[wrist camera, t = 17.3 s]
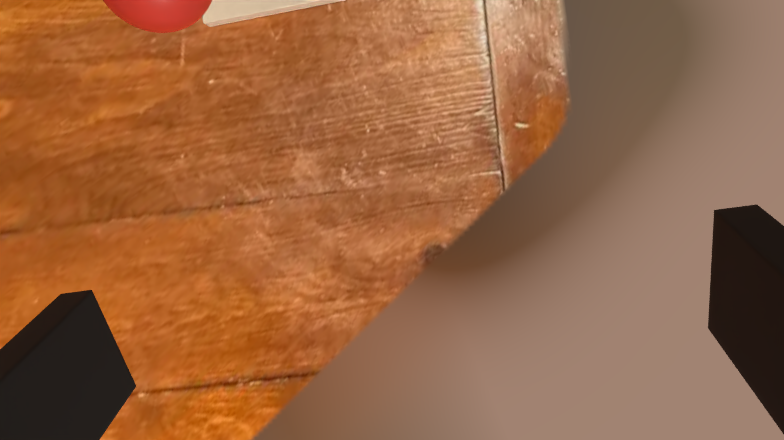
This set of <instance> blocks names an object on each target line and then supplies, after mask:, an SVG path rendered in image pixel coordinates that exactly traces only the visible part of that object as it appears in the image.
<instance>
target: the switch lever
mask: <svg viewBox="0 0 784 440" xmlns="http://www.w3.org/2000/svg"><path fill="white" fill-rule="evenodd" d="M103 1H104V2H105V4H106V5H107V6H108V7H109V8H110V9H111V10H112V11H113V12H114V13H115V14H116V15H117V16H118V17H120V18H121V19H122V20H124V21H125V22H127V23H129V24H131V25H132V26H135V27H137V28H140V29H142V30H146V31H150V32H157V33H167V32H175V31H179V30H182V29H184V28H187V27H189V26H190V25H192V24H194V23H195V22H196V21H198V20H199V19H200V18H201V17H202V16H203V15H204V13H205V12H206V11H207V9H208V8H209V6H210V4H211V2H212V0H103Z"/></svg>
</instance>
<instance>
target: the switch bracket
mask: <svg viewBox="0 0 784 440" xmlns="http://www.w3.org/2000/svg"><path fill="white" fill-rule="evenodd" d="M339 1H344V0H212V2H211V4H210V6H209V8H208V9H207V11H206V12H205V13H204V15H203V16H202V18H203V23H204V24H206V25H208V26H209V27H212V26H217V25H222V24H227V23H232V22H237V21H243V20H248V19H253V18H258V17H263V16H268V15H273V14H278V13H283V12H288V11H294V10H299V9H304V8H309V7H314V6H319V5H324V4H329V3H334V2H339Z"/></svg>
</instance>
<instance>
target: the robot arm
mask: <svg viewBox="0 0 784 440" xmlns="http://www.w3.org/2000/svg"><path fill="white" fill-rule="evenodd" d="M713 225H714V226H713V245H712V263H711V283H710V301H709V302H710V303H709V322H708V328H709V330H710V331H711V333H712V334H713V336H714V337H715V338H716V340H717V341H718V343H719V344H720V345H721V347H722V348H723V350H724V351H725V352H726V354H727V355H728V357H729V358H730V359H731V360H732V362H733V364H734V365H735V367H736V368H737V369H738V371H739V372H740V374H741V375H742V376H743V378H744V379H745V381H746V382H747V383H748V385H749V386H750V387H751V389H752V390H753V392H754V393H755V394H756V396H757V397H758V399H759V400H760V402H761V403H762V404H763V406H764V407H765V409H766V410H767V411H768V413H769V414H770V416H771V417H772V418H773V420H774V421H775V423H776V424H777V425H778V427H779V428H780V430H781V431H782V432H783V434H784V226H783V225H781V223H779V222H778V221H777V220H776V219H774V218H773V217H772V216H771V215H769V214H768V213H767V212H766V211H764V210H763V209H762V208H761V207H759V206H758V205H750V206H742V207H735V208H727V209H719V210H714V224H713ZM135 387H136V385H135V382H134V380H133V378H132V376H131V374H130V372H129V369H128V367H127V365H126V363H125V361H124V359H123V356H122V354H121V352H120V350H119V348H118V346H117V344H116V341H115V339H114V337H113V335H112V333H111V331H110V328H109V326H108V324H107V322H106V320H105V318H104V315H103V313H102V311H101V309H100V307H99V305H98V302H97V300H96V298H95V296H94V294H93V292H92V290H88V291H80V292H72V293H64V294H60V295H59V296H58V297H57V298H56V299H55V300H54V301H53V302H52V303H50V304H49V305H48V306H47V307H46V308H45V309H44V310H43V311H42V312H41V313H40V314H38V315H37V316H36V317H35V318H34V319H33V320H32V321H31V322H30V323H29V324H28V325H26V326H25V327H24V328H23V329H22V330H21V331H20V332H19V333H18V334H17V335H16V336H14V337H13V338H12V339H11V340H10V341H9V342H8V343H7V344H6V345H5V346H4V347H2V348H1V349H0V440H99V439H100V438H101V437H102V435H103V434H104V432H105V431H106V429H107V428H108V426H109V425H110V423H111V422H112V421H113V419H114V418H115V416H116V415H117V413H118V412H119V410H120V409H121V407H122V406H123V405H124V403H125V402H126V400H127V399H128V397H129V396H130V394H131V393H132V392H133V390H134V389H135Z"/></svg>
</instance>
